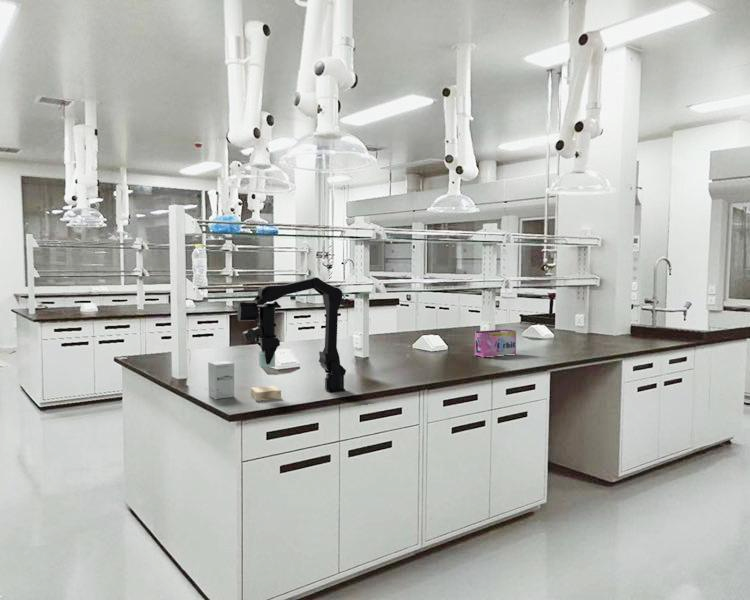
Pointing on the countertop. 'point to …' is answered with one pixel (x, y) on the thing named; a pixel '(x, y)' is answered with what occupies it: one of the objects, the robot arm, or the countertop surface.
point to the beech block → (265, 393)
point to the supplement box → (221, 379)
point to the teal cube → (263, 360)
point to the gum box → (495, 342)
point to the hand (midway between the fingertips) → (266, 363)
